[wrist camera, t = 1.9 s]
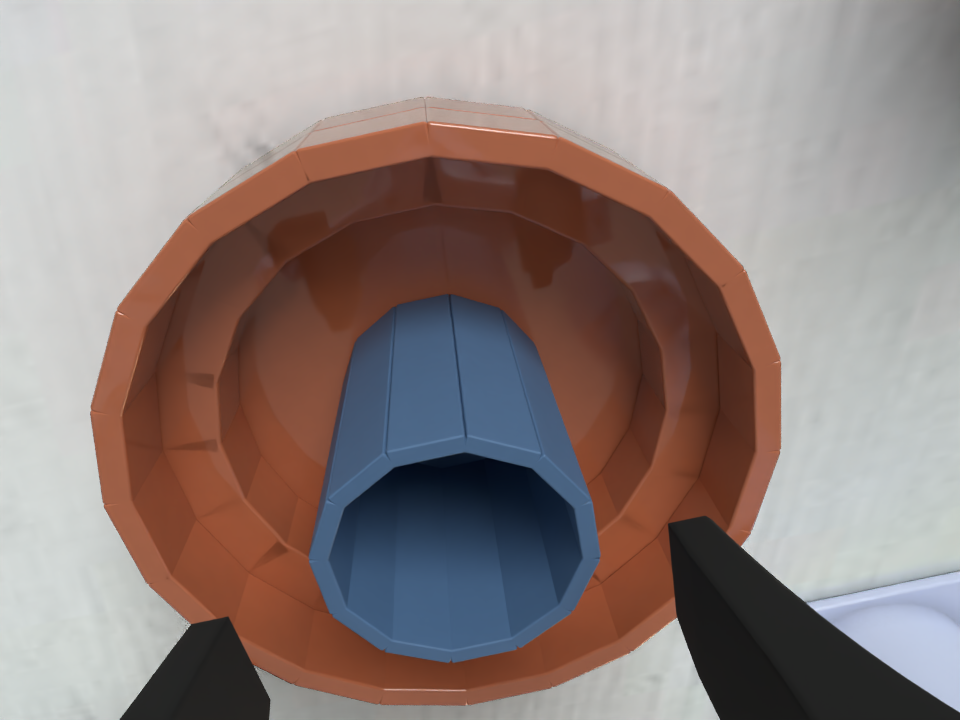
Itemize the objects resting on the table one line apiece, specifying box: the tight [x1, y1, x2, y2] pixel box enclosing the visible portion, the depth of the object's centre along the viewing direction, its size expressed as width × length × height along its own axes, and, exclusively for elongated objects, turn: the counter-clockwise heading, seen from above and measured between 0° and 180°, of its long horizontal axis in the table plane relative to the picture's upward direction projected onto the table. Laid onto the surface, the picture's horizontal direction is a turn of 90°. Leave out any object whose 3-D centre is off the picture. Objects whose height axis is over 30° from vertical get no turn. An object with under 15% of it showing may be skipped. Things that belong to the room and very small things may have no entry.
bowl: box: [90, 97, 781, 706], centre depth 17 cm, size 14×14×4 cm
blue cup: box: [309, 294, 601, 663], centre depth 15 cm, size 5×5×6 cm
